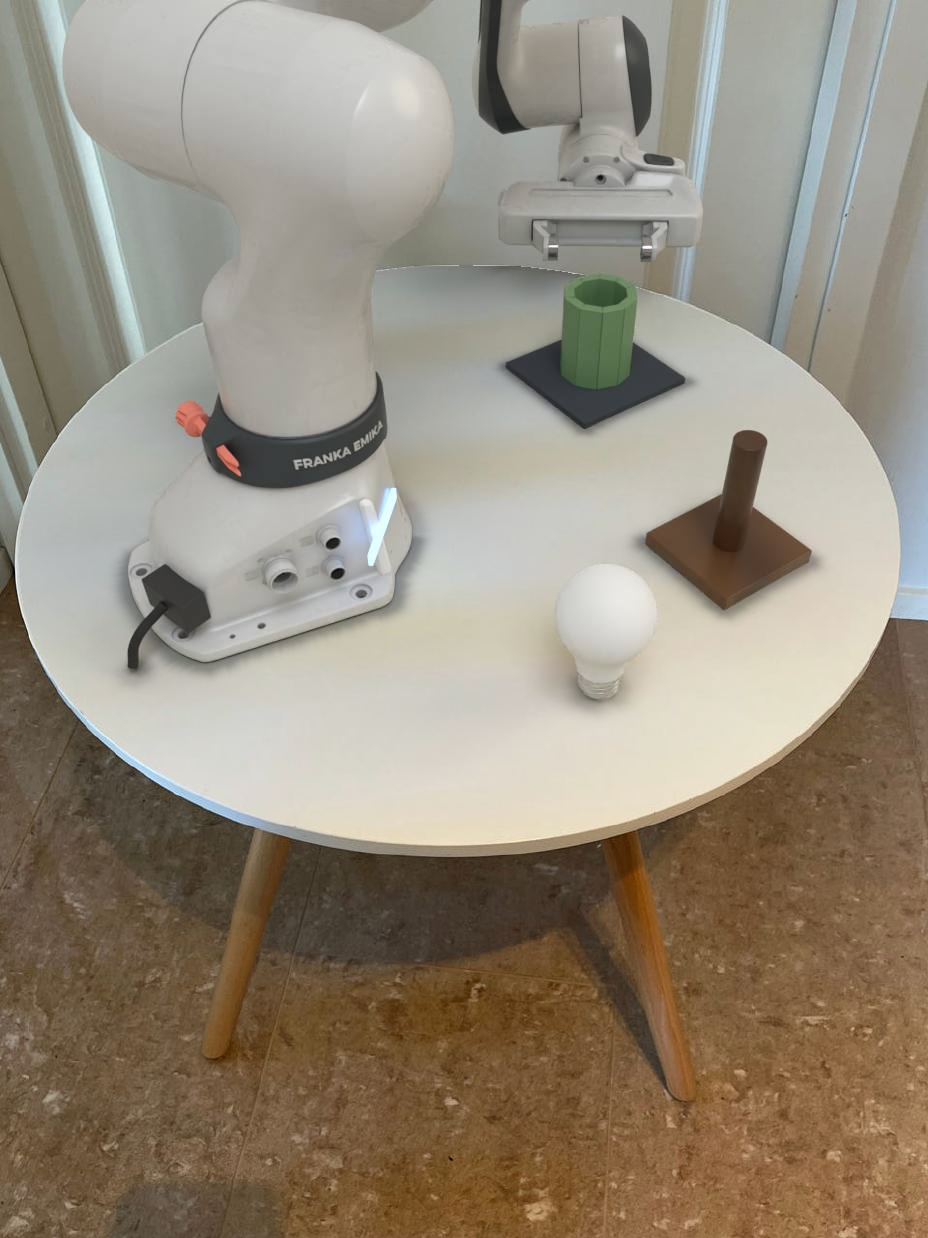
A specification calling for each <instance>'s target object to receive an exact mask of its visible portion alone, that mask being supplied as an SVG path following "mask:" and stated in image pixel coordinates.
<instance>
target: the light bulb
mask: <svg viewBox="0 0 928 1238" xmlns="http://www.w3.org/2000/svg"><path fill="white" fill-rule="evenodd" d="M658 611H659V610H658V604H657V601H656V598H655V593H653V590H651V587H650V585H648V583H647V582H646V581H645V579H644V578H643V577H642V576H641V575H639V574H637V573H636V572H634V571H633V570H632V569H630V568H628V567H625V566H623V565H619V564H614V563H598V564H593V565H590V566H587V567H585V568H583V569H581V570H579V571H577V572H575V573H574V574H573V575H572V576H571V577H570V578H569V579H568V580H567V581H566V582H565V583H564V585H563V586H562V587H561V589H560V591H559V593H558V594H557V597H556V600H555V606H554V614H553V616H554V617H553V618H554V625H555V626H554V627H555V630H556V633H557V635H558V637H559V639H560V641H561V643H562V645H563V646H564V647H565V648H566V649H567V650H568V652H569V653H570V654H571V655H572V656H573V657H574V659H575V666H576V669H577V676H576V677H577V684H578V686H579V689H580V690H581V692H582V693H583V694H584V695H585V696H587V697H588V698H592V699H594V700H603V701H605V700H607V699H610V698H612V697H614V696H615V695H616V694H617V693H618V691H619V690H620V687H621V682H622V675H623V674H624V672H625V670H626V667H627V664H628V663H629V662H631V661H632V660H633V659H635V658H637V657H638V656H639V655H641V654H642V653H643V652H644V651H645V650H646V649H647V648H648V646H649V645H650V643H651V641H652V640H653V638H654V635H655V632H656V630H657V626H658V621H659V620H658V616H659V614H658V613H659V612H658Z"/></svg>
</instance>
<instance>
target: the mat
mask: <svg viewBox="0 0 928 1238" xmlns="http://www.w3.org/2000/svg"><path fill="white" fill-rule="evenodd" d="M561 340H562V339H560V340H557V341H554V342H552V343H549V344H547V345H545V346H543V347H540V348H538V349H535V350H533V351H531V352H528V353H525V354H523V355H521V356H518V357H516V358H513V359H511V360H509V361H506V362H505V368H506V369H507V370H508V371H510V372H511V373H512V374H513V375H515V376H516V377H517V378H518V379H520V380H521V381H522V382H524V383H525V384H526V385H527V386H528V387H530V388H531V389H533V390H534V391H535V392H537V394H539V395H540V396H542V397H543V398H544V399H546V400H547V402H549V403H551V404H552V406H554V407H555V408H557V409H558V410H559V411H561V412H562V413H563V414H564V415H566V416H567V417H569V418H570V419H571V420H572V421H573V422H574V423H576V424H577V425H578V426H580V427H581V428H582V429H587V428H589V427H592V426H594V425H596V424H598V423H600V422H603V421H605V420H607V419H609V418H612V417H614V416H616V415H618V414H620V413H622V412H625V411H627V410H629V409H631V408H634V407H635V406H638V405H640V404H642V403H644V402H646V401H649V400H652V399H653V398H655V397H657V396H659V395H661V394H664V393H666V392H668V391H670V390H673V389H675V388H677V387H679V386H681V385H683V384H686V377H685V376H684V375H682V374H681V373H679V372H678V371H676V370H675V369H674V368H672V367H671V366H668V365H667V364H666V363H664V362H663V361H662V360H660V359H658V358H657V357H655V356H654V355H653V354H651V353H650V352H648V351H647V350H645V349H644V348H643V347H642V346H639V345H638V344H636V343H635V342H633V346H632V355H631V365H630V374H629V376H628V377H627V378H626V379H625V380H624V381H622V382H621V383H620V384H619V385H617V386H613V387H608V388H603V389H596V390H594V389H589V388H583V387H578V386H575V385H573V384H572V383H570V382H569V381H568V380H566V379H565V378H564V377H562V375H561V366H560V360H561Z"/></svg>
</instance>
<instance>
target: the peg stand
mask: <svg viewBox="0 0 928 1238" xmlns="http://www.w3.org/2000/svg"><path fill="white" fill-rule="evenodd" d="M767 446H768V439H767V437H766V436H765V435H764V434H763V433H762V432H760V431H757V430H752V429H743V430H740V431H737V432H735V434H734V435H733V436H732V440H731V447H730V452H729V457H728V462H727V465H726V472H725V477H724V481H723V486H722V492H721V494H719V495H717V496H715V497H713V498H711V499H709V500H708V501H706V502H703V503H702V504H700V505H697V506H695V507H694V508H692V509H690V510H688V511H686V512H684V513H682V514H680V515H678V516H676V517H675V518H672V519H671V520H669V521H667V522H664V523H663V524H660V525H659V526H657V527H655V528H653V529H652V530H650V531H648V532H647V531H646V533H645V534H646V535H645V542H644V543H645V545H646V546H647V547H648V548H649V549H650V550H652V552H655V553H656V555H658V556H659V557H660V558H662V560H664V561H665V562H666V563H668V564H669V565H670V566H671V567H672V568H673V569H674V570H676V571H677V572H678V573H679V574H680V575H682V577H684V578H685V579H686V580H688V581H689V582H690V583H692V585H694V586H695V587H696V588H698V589H699V590H700V591H701V592H702V593H703V594H704V595H705V596H707V597H708V598H709V599H711V600H712V601H713V602H714V603H716V604H717V605H718V606H719V607H720V608H721V609H722V610H727V609H729V608H730V607H733V606H734V605H736V604H737V603H740V602H741V601H742V600H744V599H746V598H748V597H750V596H752V595H753V594H755V593H757V592H759V591H760V590H762V589H764V588H766V587H767V586H769V585H771V584H773V583H774V582H776V581H778V580H779V579H781V578H783V577H784V576H786V575H788V574H790V573H791V572H793V571H795V570H797V569H798V568H800V567H802V566H803V565H805V564H807V563H809V562H810V560H811V556H812V552H813V550H812V549H811V548H809V547H808V546H807V545H806V544H804V543H802V542H801V541H799V539H797V538H796V537H795V536H793V535H792V534H790V532H788V531H787V530H785V529H784V528H783V527H781V526H780V525H778V524H777V523H775V521H773V520H771V519H770V518H769V517H767V516H766V515H765V514H764V513H762V511H760V510H758V509H757V508H755V507H754V503H755V499H756V494H757V490H758V486H759V483H760V482H759V481H760V477H761V473H762V468H763V464H764V460H765V455H766V451H767Z"/></svg>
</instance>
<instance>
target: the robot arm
mask: <svg viewBox="0 0 928 1238" xmlns="http://www.w3.org/2000/svg"><path fill="white" fill-rule="evenodd" d="M433 1H434V0H84V1H83V3H81V5H80V6H79V8H78V9H77V11H76V12H75V14H74V16H73V17H72V20H71V21H70V23H69V27H68V29H67V32H66V35H65V39H64V42H63V43H64V44H63V50H62V59H61V61H62V63H61V64H62V67H61V68H62V69H61V70H62V81H63V86H64V91H65V94H66V98H67V101H68V105H69V107H70V109H71V113H72V114H73V116H74V117H75V119H76V121H77V123H78V125H79V126H80V127H81V129H82V130H83V131H84V132H85V133H86V135H87V136H88V137H89V138H91V140H92V141H94V142H95V143H96V144H98V145H99V146H100V147H102V148H103V149H104V150H105V151H107V152H108V153H110V154H111V155H113V156H114V157H116V158H117V159H118V160H120V161H121V162H123V163H124V164H125V165H127V166H129V167H131V168H133V169H134V170H136V171H137V172H139V173H140V174H142V175H143V176H145V177H147V178H149V179H152V180H154V181H157V182H160V183H163V184H165V185H169V186H171V187H174V188H178V189H180V190H184V191H187V192H190V193H193V194H195V195H199V196H201V197H203V198H204V197H205V198H207V199H211V200H213V201H216V202H219V203H220V204H222V205H224V206H226V208H227V209H228V210H229V212H230V214H231V215H232V217H233V219H234V221H235V224H236V226H237V229H238V234H239V243H240V249H239V250H240V251H239V253H238V254H236V255H234V256H233V257H231V258H230V259H229V260H227V261H226V262H225V263H224V264H223V265H222V266H221V267H219V269H218V270H217V272H216V273H215V274H214V276H213V277H212V279H211V280H210V282H209V284H207V285H208V286H207V287H206V289H205V291H204V294H203V297H202V300H201V309H200V315H201V321H202V325H203V329H204V334H205V338H206V342H207V347H208V351H209V355H210V359H211V364H212V368H213V373H214V376H215V377H214V378H215V381H216V385H217V389H218V393H217V396H216V399H215V403H214V407H213V411H212V413H211V415H209V414H208V413H206V412H205V411H204V409H203V407H202V406H201V405H200V404H199V403H197V402H196V401H194V400H187V401H184V402H182V403H181V404H180V405H178V407H177V408H176V409H177V410H176V411H175V412H174V415H175V421H176V422H177V424H178V425H179V426H180V427H181V428H183V430H184V431H185V433H186V434H187V435H188V436H190V437H193V438H200V437H201V441H202V446H203V448H202V449H201V450H200V451H199V452H198V453H197V455H196V456H195V457H194V458H193V459H192V461H190V463H188V465H187V466H186V467H185V468H184V469H183V470H182V472H180V474H179V475H178V476H177V477H176V478H175V479H174V480H173V481H172V482H171V483H170V485H168V487H167V488H165V490H164V491H163V492H162V493H161V494H160V495H159V496H158V497H157V498H156V499H155V500H154V502H153V504H152V506H151V508H150V512H149V517H148V540H146V541H144V542H143V543H141V544H140V545H138V546H137V547H135V548H134V549H133V550H132V552H130V556H129V561H128V565H127V576H128V583H129V586H130V591H131V594H132V598H133V600H134V602H135V604H136V607H137V609H138V610H139V612H140V614H141V615H142V617H143V618H144V619H143V620H142V621H141V622H140V623H139V625H138V626H137V627H136V629H135V630H134V633H133V634H132V636H131V638H130V640H129V643H128V647H127V653H126V655H127V668H128V669H130V670H137V669H138V668H139V661H140V659H139V650H140V646H141V643H142V641H143V640H144V638H145V636H146V635H147V633H148V632H149V631H150V630H152V631H153V632H154V633H155V634H156V635H157V637H159V639H160V640H162V641H163V642H164V643H165V644H166V645H167V646H168V647H170V648H171V649H173V650H174V651H176V652H177V653H179V654H180V655H183V656H185V657H187V658H189V659H192V660H195V661H198V662H201V663H210V662H213V661H218V660H222V659H224V658H227V657H229V656H233V655H237V654H239V653H244V652H246V651H249V650H253V649H256V648H258V647H262V646H265V645H268V644H271V643H275V642H277V641H281V640H283V639H287V638H291V637H292V636H296V635H299V634H302V633H306V632H309V631H312V630H315V629H318V628H321V627H324V626H327V625H330V624H334V623H337V622H339V621H344V620H346V619H349V618H353V617H355V616H359V615H362V614H365V613H369V612H371V611H374V610H377V609H380V608H383V607H385V606H387V605H389V604H390V603H391V601H392V600H393V598H394V594H395V589H396V588H395V586H396V574H397V572H398V570H399V568H400V566H401V565H402V563H403V562H404V560H405V559H406V557H407V555H408V553H409V550H410V548H411V545H412V541H413V524H412V520H411V518H410V515H409V513H408V511H407V510H406V508H405V506H404V504H403V500H402V499H401V497H400V495H399V491H398V489H397V486H396V483H395V480H394V479H395V478H394V475H393V471H392V469H391V464H390V460H389V456H388V450H387V446H386V441H385V440H386V439H387V436H388V427H389V426H388V418H387V406H386V399H385V393H384V392H385V391H384V386H383V381H382V378H381V376H380V374H379V372H378V371H377V370H376V360H375V359H376V358H375V347H374V346H375V345H374V333H373V332H374V331H373V312H372V311H373V309H372V298H373V297H372V296H373V286H374V280H375V277H376V273H377V269H378V266H379V263H380V261H381V259H382V257H383V256H384V253H385V252H386V251H387V249H389V247H390V246H391V245H392V244H393V243H395V242H397V240H399V239H401V238H403V237H404V236H406V235H407V234H409V233H410V232H412V231H413V230H414V229H415V228H417V226H419V225H420V224H421V223H422V222H423V221H424V220H425V219H426V218H427V217H428V215H430V213H431V211H432V210H433V209H434V208H435V206H436V205H437V203H438V202H439V200H440V198H441V196H442V194H443V192H444V191H445V188H446V186H447V184H448V181H449V178H450V175H451V172H452V168H453V164H454V158H455V151H456V121H455V114H454V109H453V105H452V100H451V97H450V94H449V91H448V89H447V86H446V83H445V81H444V78H443V77H442V75H441V74H440V71H439V70H438V69H437V67H436V65H434V64H433V63H432V62H431V61H430V60H428V59H427V58H425V57H424V56H422V55H420V54H418V53H417V52H415V51H413V50H411V49H410V48H408V47H406V46H404V45H402V44H401V43H399V42H397V41H396V40H394V39H391V38H390V37H388V36H386V35H384V34H382V33H383V32H386V31H389V30H392V29H395V28H397V27H399V26H402V25H403V24H405V23H408V22H410V21H411V20H413V19H414V18H416V17H417V16H418V15H419V14H421V13H422V12H423V11H424V10H425V9H427V8H428V7H429V6H430V5H431V3H432V2H433ZM528 2H530V0H480V1H479V19H478V36H477V37H478V38H477V47H476V50H475V54H474V57H473V62H472V68H471V90H472V97H473V102H474V106H475V108H476V111H477V112H478V116H479V117H480V119H482V121H484V122H485V123H486V124H487V125H488V126H490V127H491V128H492V129H493V130H495V131H496V132H498V133H500V134H501V135H509V134H513V133H519V132H524V131H530V130H531V129H538V128H549V127H559V126H562V129H561V133H560V137H559V143H558V152H557V166H558V167H557V173H556V180H521V181H516V182H514V183H512V184H510V185H509V186H508V187H507V188H506V189H501V190H500V191H499V194H498V199H497V204H498V207H499V208H498V223H497V224H498V226H497V227H498V228H497V229H498V231H497V232H498V240H499V241H500V242H502V243H503V244H505V245H507V246H532V247H533V248H535V249H536V250H537V251H538V252H539V253H541V254H542V261H545V262H549V261H551V262H552V261H555V262H556V261H559V247H623V248H624V247H629V248H630V247H633V248H634V247H635V248H636V247H637V248H638V247H639V248H640V253H639V257H640V263H656V262H657V257H658V254H659V253H661V252H662V251H663V250H664V249H666V248H692V247H694V246H695V245H697V244H698V243H699V242H700V239H701V234H702V229H703V220H704V207H703V204H702V199H701V196H700V194H699V191H698V189H697V186H696V184H695V183H694V182H693V181H692V180H691V179H690V178H688V177H687V176H686V163H685V161H684V160H683V159H681V158H678V157H671V156H666V155H660V154H655V153H651V152H648V151H645V150H642V149H639V148H640V147H639V141H638V137H639V136H640V134H641V133H642V132H643V131H644V129H645V127H646V125H647V124H648V122H649V120H650V118H651V114H652V113H651V111H652V103H653V102H652V100H653V86H652V73H651V65H650V64H651V63H650V55H649V54H650V53H649V48H648V43H647V39H646V37H645V35H644V34H643V32H642V31H641V30H640V29H639V28H638V26H637V25H636V24H635V23H634V22H633V21H632V20H631V19H630V18H628V17H627V16H625V15H611V16H603V17H593V18H583V19H578V20H568V21H560V22H551V23H541V24H533V25H532V24H530V25H528V24H521V22H522V13H523V8H524V6H525V5H526V4H527V3H528Z"/></svg>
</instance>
